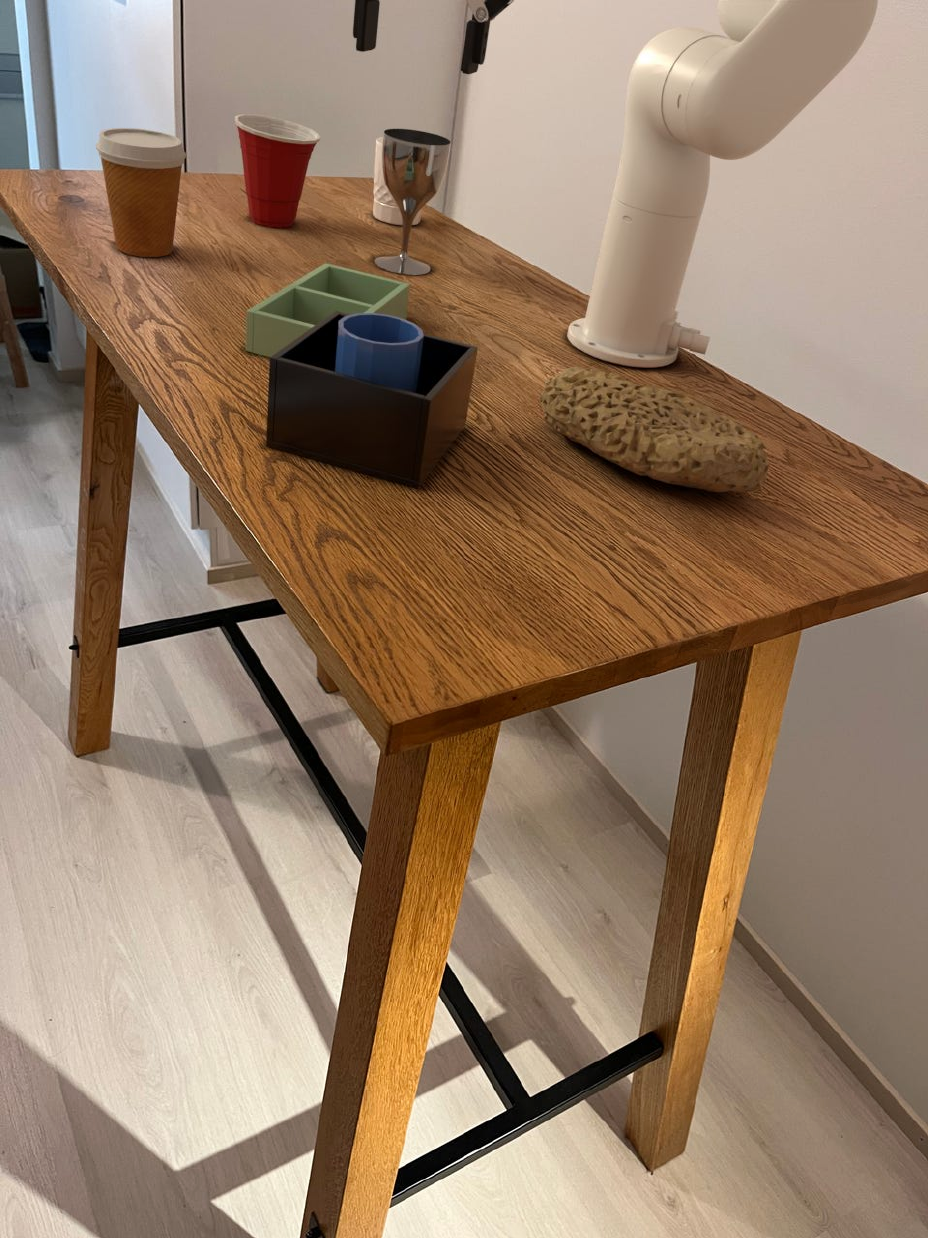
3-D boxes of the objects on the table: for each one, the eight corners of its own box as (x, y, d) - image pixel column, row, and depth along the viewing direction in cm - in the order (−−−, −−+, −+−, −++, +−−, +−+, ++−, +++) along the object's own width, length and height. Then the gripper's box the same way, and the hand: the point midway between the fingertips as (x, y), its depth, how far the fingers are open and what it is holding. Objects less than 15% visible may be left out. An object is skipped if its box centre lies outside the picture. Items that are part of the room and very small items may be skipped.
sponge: (519, 443, 93) (681, 504, 79) (536, 356, 91) (706, 404, 76) (618, 449, 101) (781, 505, 87) (636, 370, 99) (807, 414, 85)
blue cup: (420, 426, 89) (434, 326, 84) (394, 456, 83) (407, 351, 78) (348, 406, 90) (357, 306, 85) (317, 435, 84) (325, 330, 79)
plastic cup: (308, 239, 131) (315, 138, 124) (224, 225, 130) (226, 123, 123) (319, 217, 140) (326, 122, 133) (240, 204, 139) (243, 108, 132)
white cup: (416, 230, 142) (425, 154, 136) (362, 219, 142) (369, 142, 137) (429, 218, 148) (438, 144, 142) (377, 207, 149) (384, 133, 143)
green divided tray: (406, 319, 112) (410, 283, 110) (340, 376, 97) (343, 335, 94) (322, 298, 113) (325, 262, 111) (245, 350, 98) (246, 310, 96)
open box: (464, 427, 91) (478, 346, 87) (417, 488, 81) (430, 400, 76) (328, 391, 93) (335, 310, 89) (265, 446, 83) (269, 357, 78)
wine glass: (386, 275, 123) (400, 143, 115) (361, 254, 129) (373, 126, 120) (444, 275, 127) (462, 146, 118) (417, 255, 132) (432, 130, 124)
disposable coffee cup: (204, 253, 120) (204, 144, 113) (142, 267, 113) (138, 151, 106) (146, 231, 123) (143, 124, 116) (82, 243, 116) (75, 129, 109)
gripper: (560, -162, 81) (521, 77, 91) (358, -197, 84) (341, 39, 93) (539, -172, 75) (500, 85, 85) (322, -210, 78) (308, 44, 87)
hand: (416, 60), depth 89 cm, fingers open, 9 cm apart
